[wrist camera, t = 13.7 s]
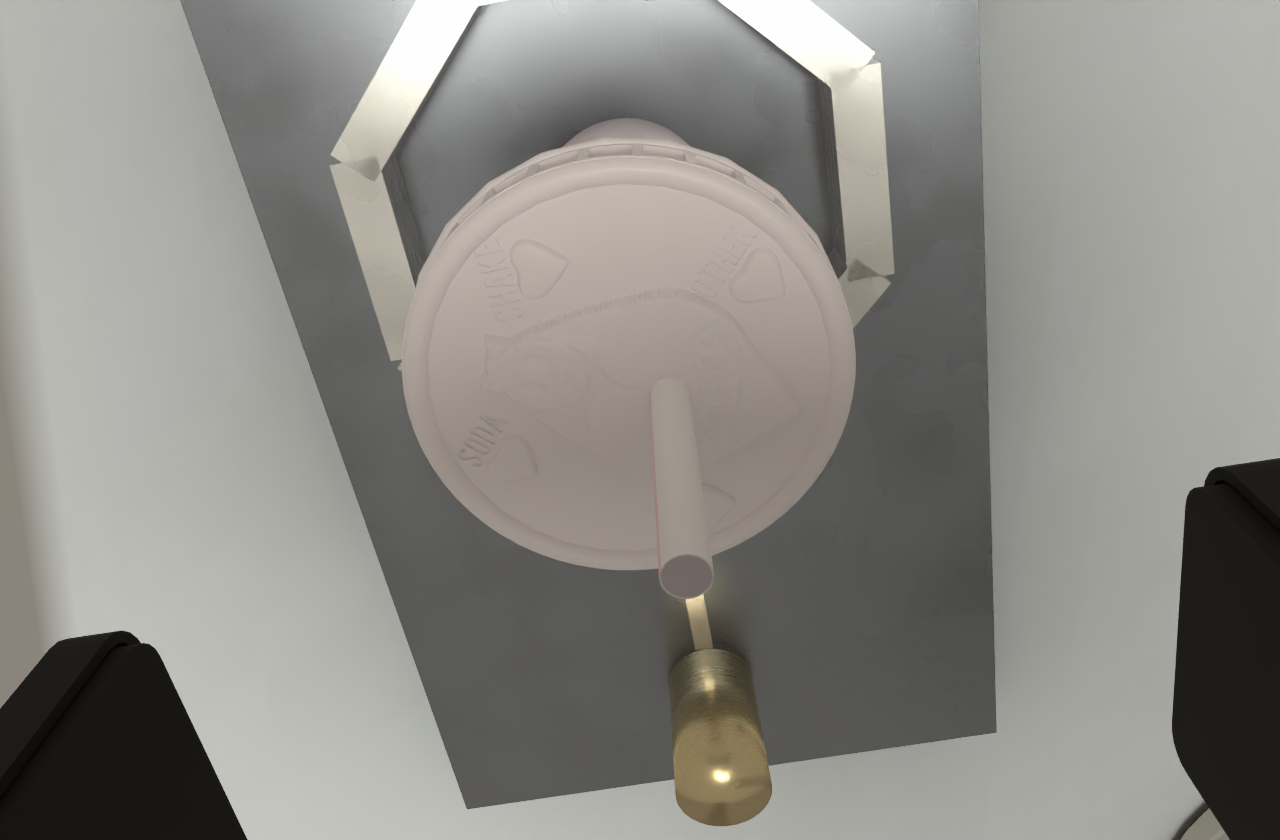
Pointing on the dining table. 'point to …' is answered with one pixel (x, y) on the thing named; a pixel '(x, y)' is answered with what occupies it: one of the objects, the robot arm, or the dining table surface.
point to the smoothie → (629, 354)
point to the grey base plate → (758, 567)
